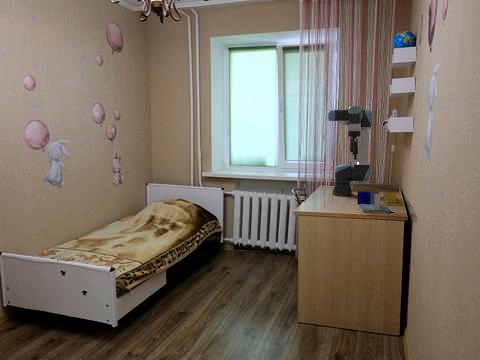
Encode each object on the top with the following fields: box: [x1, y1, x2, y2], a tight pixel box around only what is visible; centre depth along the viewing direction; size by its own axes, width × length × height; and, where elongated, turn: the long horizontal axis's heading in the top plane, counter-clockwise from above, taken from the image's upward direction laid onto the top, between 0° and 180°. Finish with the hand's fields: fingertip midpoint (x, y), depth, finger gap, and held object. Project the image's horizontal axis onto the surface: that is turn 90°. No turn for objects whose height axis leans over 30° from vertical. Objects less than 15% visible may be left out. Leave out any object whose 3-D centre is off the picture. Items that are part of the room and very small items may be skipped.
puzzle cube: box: [356, 192, 371, 205], centre depth 277 cm, size 10×10×10 cm
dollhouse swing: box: [382, 192, 404, 207], centre depth 274 cm, size 10×10×9 cm
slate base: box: [359, 203, 391, 214], centre depth 259 cm, size 18×16×2 cm
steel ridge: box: [370, 192, 381, 210], centre depth 258 cm, size 18×3×10 cm, turn 170°
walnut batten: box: [351, 182, 400, 194], centre depth 257 cm, size 4×28×5 cm, turn 80°
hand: (353, 163), depth 263 cm, fingers open, 13 cm apart
